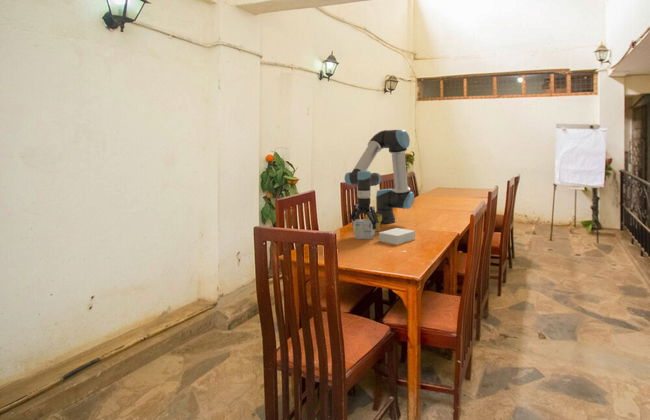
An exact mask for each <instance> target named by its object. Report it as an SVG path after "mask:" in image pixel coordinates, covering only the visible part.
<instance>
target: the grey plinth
mask: <svg viewBox="0 0 650 420" xmlns="http://www.w3.org/2000/svg"><path fill="white" fill-rule="evenodd" d="M415 240H416V230H411V229H406V228H400V227H395V228H392V229H387V230H384V231H379V232H378V242H381V243H387V244H390V245H396V246H399V245H402V244H404V243H408V242H411V241H415Z"/></svg>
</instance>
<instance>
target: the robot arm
mask: <svg viewBox="0 0 650 420" xmlns="http://www.w3.org/2000/svg"><path fill="white" fill-rule="evenodd" d="M410 143H411V139H410V135H409V133H408V131H406V130H405V129H385V130H380V131H379V132H377V133H376V134H374V135H373V136H372V137H371V138H370V139H369V141H368V143H367V147H366V148H365V150H364V152H363V153H362V154H361V156H360V158H359V159H358V161H357V163H356V165H354V167H353V169H352V171H350V172H346V173H345V175H344V181H345V182H344V183H345V184H346V185H348V186H349V185H350V186H357V204H354V205H353V210H352V212H351V214H350V217H349V220H352V227H353V233H355V219H359V217H360V216H361V214H365V216H366V215H367V216H368V217H369V219H370V221H371V222H372V224H371V235H373V236H375V235H376V231H375V229H376V223H379V221H378V218H377V215H376V214H379V215H382V221H381V223H380V224H392V223H393V224H394V223H395V222H396V217H395V214H394V209H403V210H405V209H407V210H409V209H410V208H412V207H413V204H414V201H415V194H414V192H413V191H411V187H409V185H408V174H407V164H406V163H407V162H406V151H407V150H408V149H407V148H409V146H410ZM383 149H388V152H389V153H390V154H391V160H392V161H391V162H392V163H391V164H392V171H393V181H394V188H384V189H379V190H376V197H375V200H376V210H375V206H370V205H371V196H372V195H371V194H372V193H371V187H373V186H374V187H376V186H378V185H380V184H381V182H382V176H381V174H380V173H378V172H371V171H370V170H368V169H369V167H370V166H371V164H372V163H373V161H374V159H375V158H376V157H377V154H378V153H380V152H381V151H382V150H383Z"/></svg>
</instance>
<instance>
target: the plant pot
mask: <svg viewBox="0 0 650 420" xmlns="http://www.w3.org/2000/svg"><path fill="white" fill-rule="evenodd" d="M376 215H377V218H378V221H379V223H376V229H375V232H378V231H379V230H380V226H381V224H382V223H381V221H382V215H379V214H376ZM365 219H369V217H368V216H367V215H366V214H365ZM379 232H380V231H379Z"/></svg>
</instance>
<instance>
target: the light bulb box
mask: <svg viewBox="0 0 650 420" xmlns="http://www.w3.org/2000/svg"><path fill="white" fill-rule="evenodd" d="M371 224H372V222H371V221H370V219H366V218H365V219H363V218H362V219H359V218H357V219H355V232H354V239H355V240H374V235H371Z"/></svg>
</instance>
